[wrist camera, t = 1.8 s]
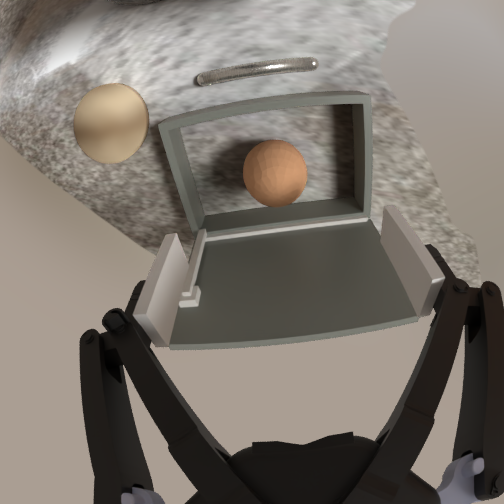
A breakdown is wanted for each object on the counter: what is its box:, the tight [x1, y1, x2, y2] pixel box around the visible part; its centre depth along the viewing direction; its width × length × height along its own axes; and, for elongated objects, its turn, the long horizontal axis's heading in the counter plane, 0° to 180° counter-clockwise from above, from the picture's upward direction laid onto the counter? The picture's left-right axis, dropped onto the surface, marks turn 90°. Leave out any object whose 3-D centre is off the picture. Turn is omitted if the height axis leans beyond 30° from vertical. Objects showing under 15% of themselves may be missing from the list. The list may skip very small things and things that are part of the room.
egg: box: [243, 140, 307, 207], centre depth 24 cm, size 6×6×8 cm
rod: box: [197, 57, 319, 86], centre depth 21 cm, size 1×11×1 cm, turn 99°
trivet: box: [74, 83, 149, 164], centre depth 24 cm, size 9×9×1 cm
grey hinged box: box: [158, 91, 419, 350], centre depth 21 cm, size 14×19×17 cm
